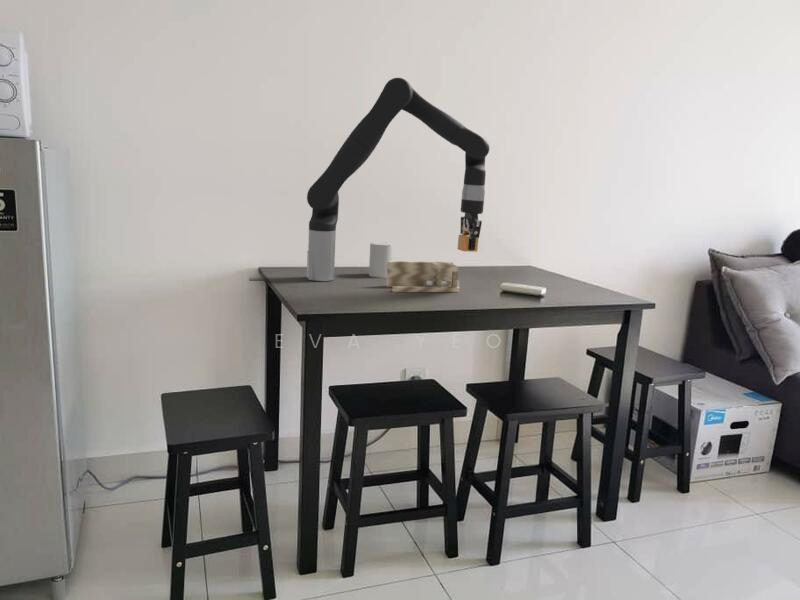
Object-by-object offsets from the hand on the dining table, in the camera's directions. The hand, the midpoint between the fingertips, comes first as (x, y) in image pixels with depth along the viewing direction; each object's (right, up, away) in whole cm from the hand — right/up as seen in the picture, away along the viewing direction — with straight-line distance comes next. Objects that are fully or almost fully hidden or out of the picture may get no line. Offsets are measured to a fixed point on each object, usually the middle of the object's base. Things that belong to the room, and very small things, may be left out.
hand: (468, 248), depth 214 cm
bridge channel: (-16, -14, -1) cm, 21 cm away
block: (0, -1, 0) cm, 1 cm away
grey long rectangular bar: (-9, -14, 0) cm, 17 cm away
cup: (-31, -9, +19) cm, 37 cm away
